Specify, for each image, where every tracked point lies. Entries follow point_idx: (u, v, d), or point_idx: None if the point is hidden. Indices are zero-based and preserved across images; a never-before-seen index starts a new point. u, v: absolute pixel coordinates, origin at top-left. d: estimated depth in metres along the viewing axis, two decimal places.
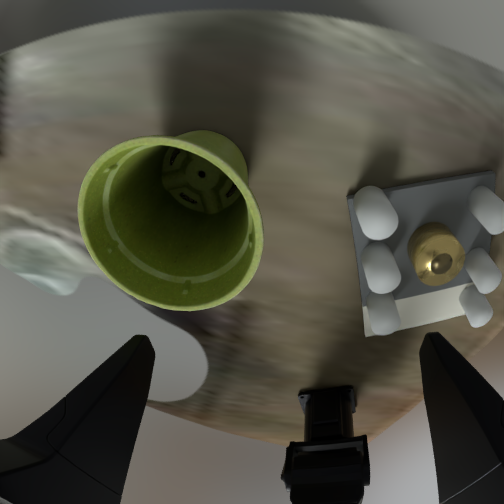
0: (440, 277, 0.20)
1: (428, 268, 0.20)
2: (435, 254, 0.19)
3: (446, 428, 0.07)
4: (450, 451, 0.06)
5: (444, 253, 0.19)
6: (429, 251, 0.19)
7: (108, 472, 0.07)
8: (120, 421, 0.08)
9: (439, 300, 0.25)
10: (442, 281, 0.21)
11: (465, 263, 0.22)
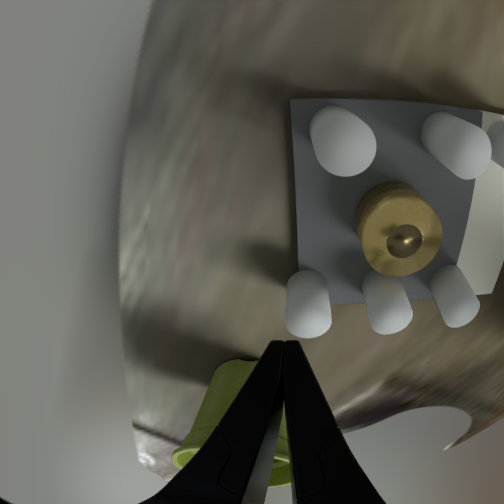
0: (428, 241, 0.13)
1: (404, 260, 0.14)
2: (384, 252, 0.14)
3: (288, 444, 0.07)
4: (291, 469, 0.07)
5: (387, 238, 0.14)
6: (376, 260, 0.14)
7: (259, 500, 0.06)
8: (272, 440, 0.07)
9: (488, 198, 0.14)
10: (436, 237, 0.13)
11: None
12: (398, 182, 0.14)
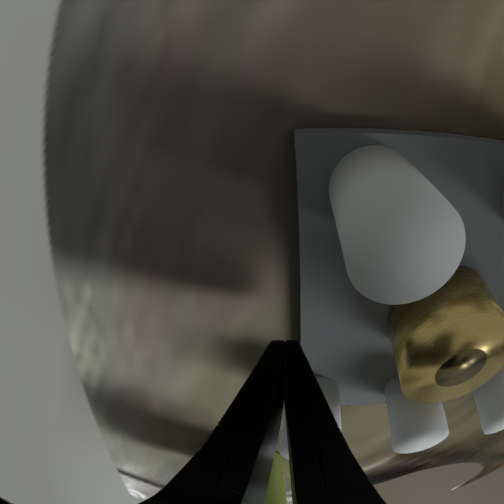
0: (491, 362, 0.07)
1: (453, 387, 0.08)
2: (430, 382, 0.08)
3: (288, 444, 0.07)
4: (291, 469, 0.07)
5: (439, 369, 0.08)
6: (416, 391, 0.08)
7: (259, 500, 0.06)
8: (272, 440, 0.07)
9: None
10: None
11: None
12: (461, 270, 0.08)
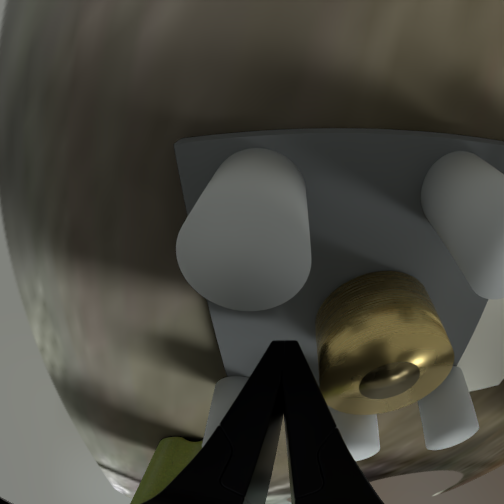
0: (428, 375, 0.08)
1: (386, 399, 0.08)
2: (355, 394, 0.08)
3: (287, 443, 0.07)
4: (289, 469, 0.07)
5: (361, 381, 0.08)
6: (341, 402, 0.09)
7: (261, 500, 0.06)
8: (273, 440, 0.07)
9: None
10: (443, 369, 0.08)
11: None
12: (391, 275, 0.09)
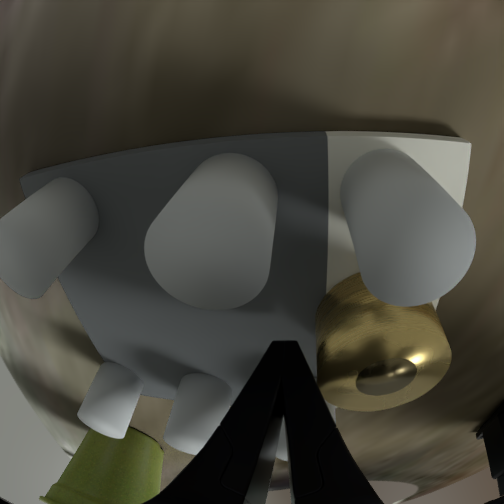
0: (425, 373, 0.08)
1: (383, 396, 0.09)
2: (351, 390, 0.08)
3: None
4: (289, 469, 0.07)
5: (357, 376, 0.08)
6: (338, 398, 0.09)
7: (261, 500, 0.06)
8: (273, 440, 0.07)
9: None
10: (440, 367, 0.08)
11: None
12: None
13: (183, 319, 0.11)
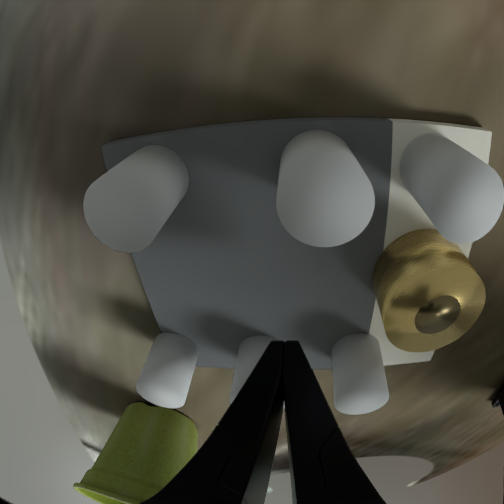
0: (466, 312, 0.09)
1: (433, 335, 0.10)
2: (410, 328, 0.10)
3: (288, 444, 0.07)
4: (291, 469, 0.07)
5: (417, 313, 0.10)
6: (399, 337, 0.10)
7: (259, 500, 0.06)
8: (272, 440, 0.07)
9: None
10: (477, 307, 0.09)
11: None
12: (433, 231, 0.10)
13: (256, 279, 0.13)
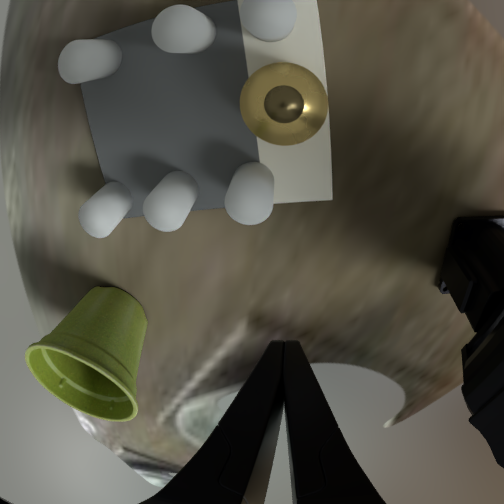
0: (311, 103, 0.13)
1: (289, 126, 0.14)
2: (264, 117, 0.14)
3: (288, 444, 0.07)
4: None
5: (264, 101, 0.13)
6: (258, 126, 0.14)
7: (259, 500, 0.06)
8: (272, 440, 0.07)
9: None
10: (321, 98, 0.13)
11: (192, 53, 0.14)
12: None
13: (165, 117, 0.16)
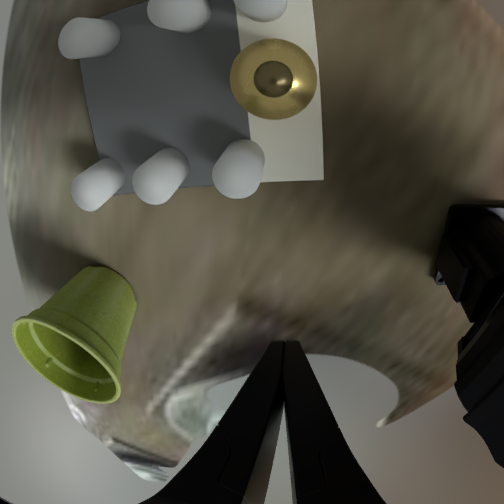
0: (300, 78, 0.13)
1: (278, 100, 0.14)
2: (253, 91, 0.14)
3: (288, 444, 0.07)
4: (291, 469, 0.07)
5: (253, 76, 0.13)
6: (247, 100, 0.14)
7: (259, 500, 0.06)
8: (272, 440, 0.07)
9: None
10: (310, 74, 0.13)
11: (187, 32, 0.14)
12: None
13: (159, 94, 0.16)
